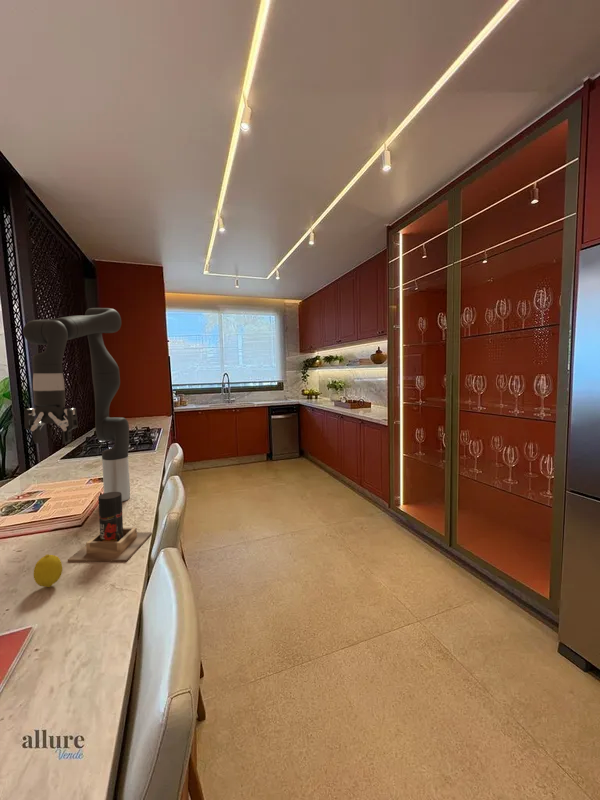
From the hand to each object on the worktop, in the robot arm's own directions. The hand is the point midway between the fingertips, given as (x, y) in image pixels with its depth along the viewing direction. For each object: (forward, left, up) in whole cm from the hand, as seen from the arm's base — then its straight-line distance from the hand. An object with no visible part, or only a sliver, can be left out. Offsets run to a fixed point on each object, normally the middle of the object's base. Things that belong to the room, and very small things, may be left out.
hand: (52, 443), depth 103 cm
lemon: (+23, +14, -30) cm, 41 cm away
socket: (+4, +19, -30) cm, 36 cm away
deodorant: (+4, +19, -30) cm, 35 cm away
